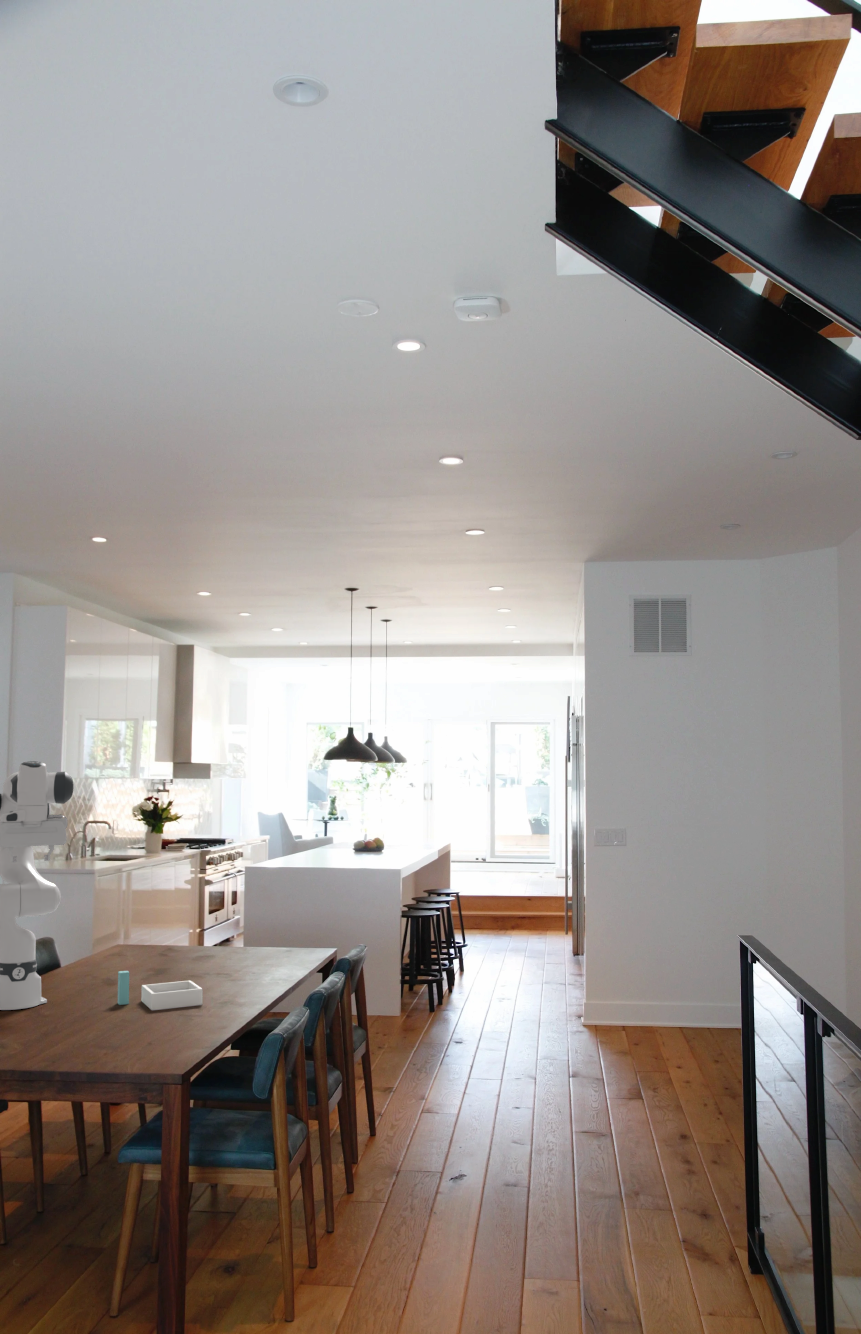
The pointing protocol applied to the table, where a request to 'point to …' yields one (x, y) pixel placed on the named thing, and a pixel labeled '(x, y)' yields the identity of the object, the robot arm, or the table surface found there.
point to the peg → (123, 987)
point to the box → (172, 995)
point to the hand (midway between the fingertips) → (30, 861)
